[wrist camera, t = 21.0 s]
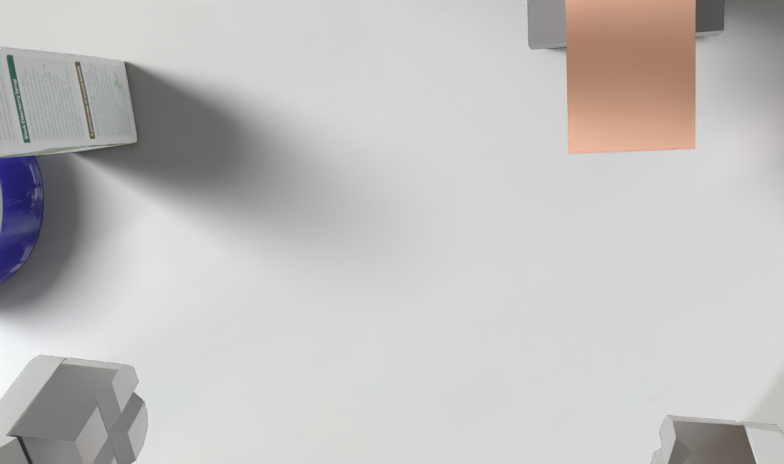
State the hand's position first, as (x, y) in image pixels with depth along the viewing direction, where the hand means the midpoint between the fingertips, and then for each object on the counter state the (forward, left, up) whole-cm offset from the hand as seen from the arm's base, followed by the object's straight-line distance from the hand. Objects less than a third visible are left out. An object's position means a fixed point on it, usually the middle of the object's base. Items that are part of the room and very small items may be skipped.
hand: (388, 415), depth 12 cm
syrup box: (-24, -18, -35) cm, 46 cm away
